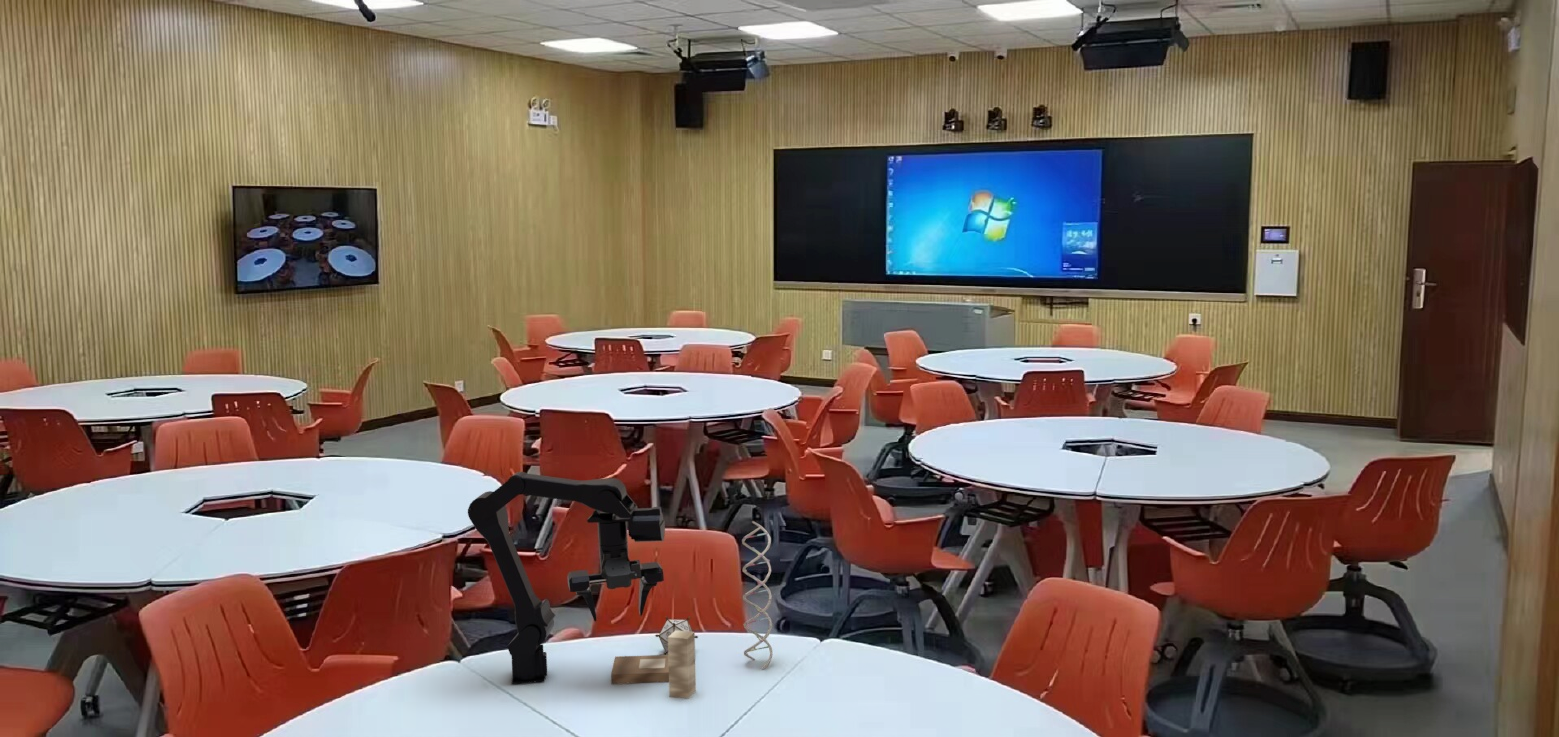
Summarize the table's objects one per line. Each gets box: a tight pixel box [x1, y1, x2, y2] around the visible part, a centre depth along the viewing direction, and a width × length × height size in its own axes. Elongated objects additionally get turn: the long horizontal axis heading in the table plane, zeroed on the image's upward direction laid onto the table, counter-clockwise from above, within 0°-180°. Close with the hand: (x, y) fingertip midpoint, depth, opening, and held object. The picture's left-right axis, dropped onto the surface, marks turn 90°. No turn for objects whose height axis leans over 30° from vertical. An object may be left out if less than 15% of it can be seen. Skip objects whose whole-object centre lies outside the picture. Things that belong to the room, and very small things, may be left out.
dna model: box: [741, 520, 774, 670], centre depth 241 cm, size 7×6×30 cm
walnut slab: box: [610, 654, 669, 685], centre depth 239 cm, size 16×10×2 cm, turn 93°
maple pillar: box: [667, 630, 697, 699], centre depth 228 cm, size 4×4×12 cm
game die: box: [654, 615, 699, 655], centre depth 250 cm, size 9×8×10 cm
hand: (618, 617), depth 235 cm, fingers open, 9 cm apart
